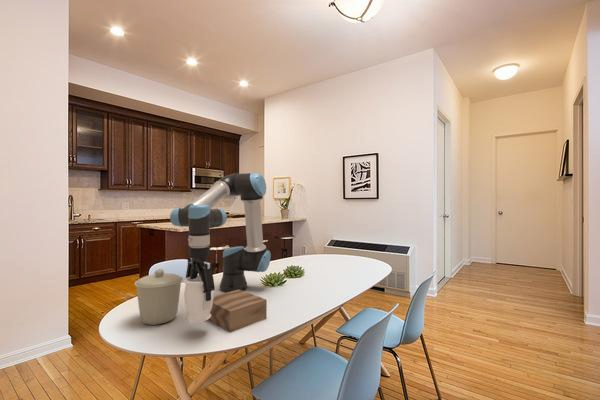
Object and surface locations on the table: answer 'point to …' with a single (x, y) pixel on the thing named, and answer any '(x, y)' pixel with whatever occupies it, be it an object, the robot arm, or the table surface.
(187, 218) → the robot arm
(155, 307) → the canister
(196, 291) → the jar
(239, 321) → the walnut box
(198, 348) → the table surface
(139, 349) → the table surface
